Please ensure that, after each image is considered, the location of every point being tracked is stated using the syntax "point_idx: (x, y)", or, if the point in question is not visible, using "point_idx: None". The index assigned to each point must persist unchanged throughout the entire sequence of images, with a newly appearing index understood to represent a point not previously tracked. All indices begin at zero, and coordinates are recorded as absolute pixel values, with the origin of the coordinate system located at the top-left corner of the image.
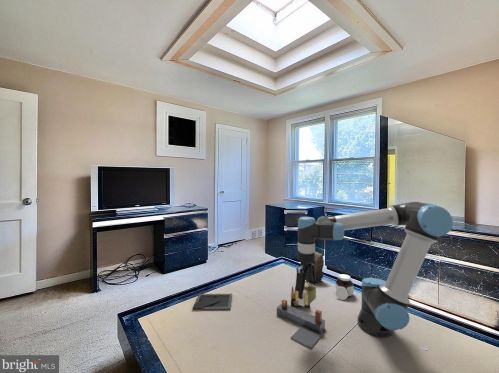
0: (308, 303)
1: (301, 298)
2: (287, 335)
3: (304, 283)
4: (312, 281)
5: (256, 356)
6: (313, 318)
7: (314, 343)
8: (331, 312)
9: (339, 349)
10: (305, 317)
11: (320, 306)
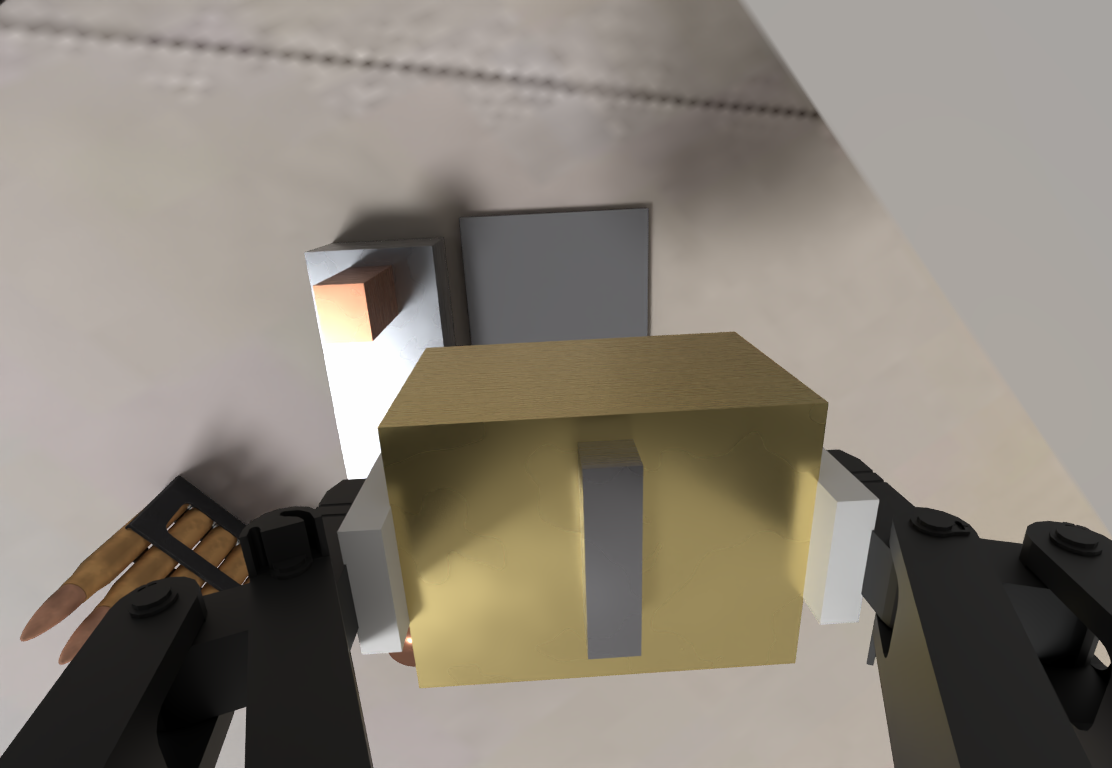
0: (723, 339)
1: (842, 457)
2: None
3: (973, 660)
4: (336, 598)
5: (925, 445)
6: (369, 347)
7: (583, 214)
8: (62, 303)
9: (486, 18)
10: None
11: (73, 421)
